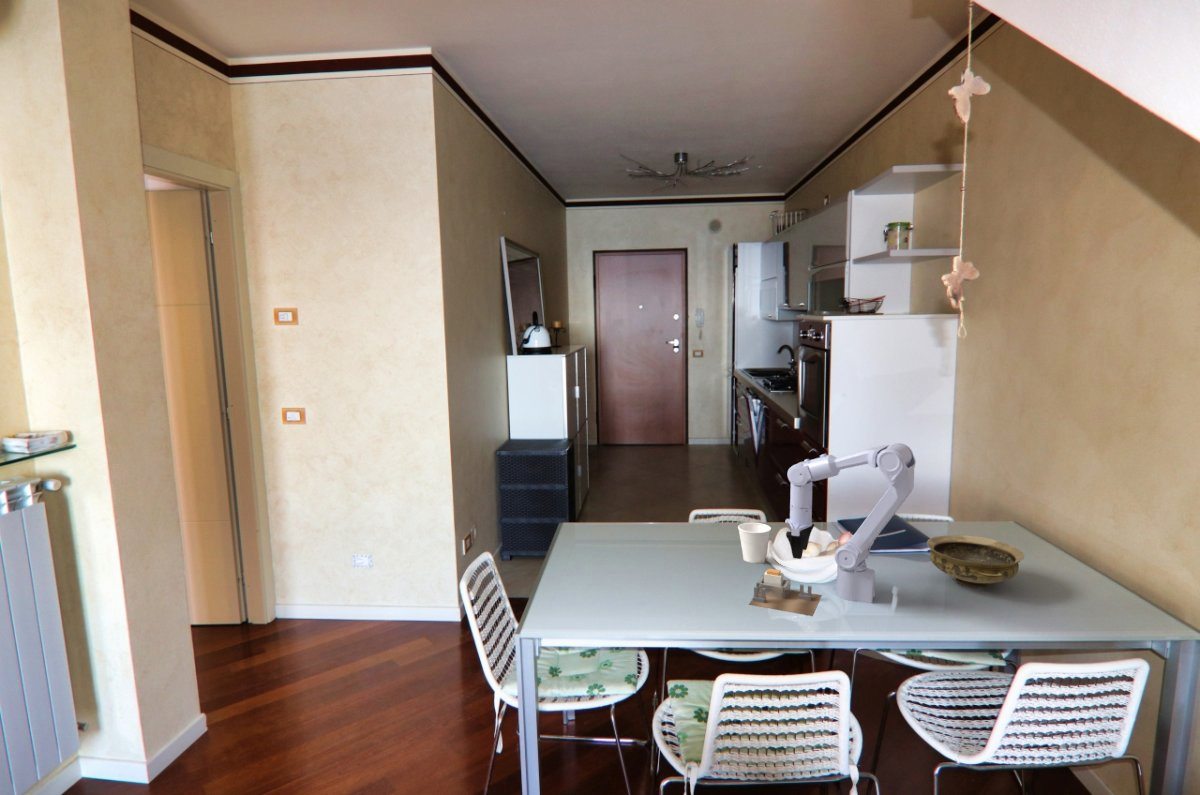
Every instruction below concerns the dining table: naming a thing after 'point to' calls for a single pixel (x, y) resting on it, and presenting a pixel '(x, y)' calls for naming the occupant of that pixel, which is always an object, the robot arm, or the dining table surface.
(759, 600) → the clip
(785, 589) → the end holder
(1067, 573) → the dining table surface
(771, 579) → the connector
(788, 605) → the board
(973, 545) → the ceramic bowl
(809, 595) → the clip
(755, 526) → the cup
